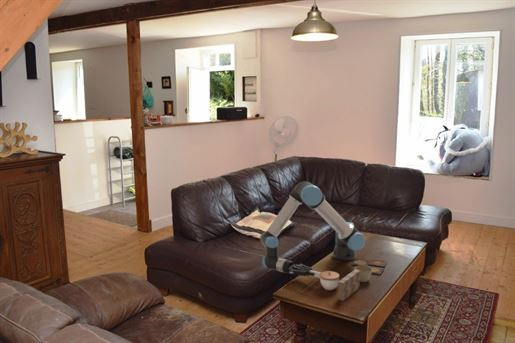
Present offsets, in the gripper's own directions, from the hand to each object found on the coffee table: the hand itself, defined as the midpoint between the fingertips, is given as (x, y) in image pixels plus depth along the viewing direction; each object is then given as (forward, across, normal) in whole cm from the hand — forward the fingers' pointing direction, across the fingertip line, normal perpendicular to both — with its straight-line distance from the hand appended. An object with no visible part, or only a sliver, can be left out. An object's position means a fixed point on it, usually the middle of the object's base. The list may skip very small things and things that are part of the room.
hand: (320, 275), depth 254 cm
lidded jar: (+6, -1, -7) cm, 9 cm away
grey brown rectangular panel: (+18, -1, -6) cm, 19 cm away
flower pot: (+16, -21, -7) cm, 27 cm away
